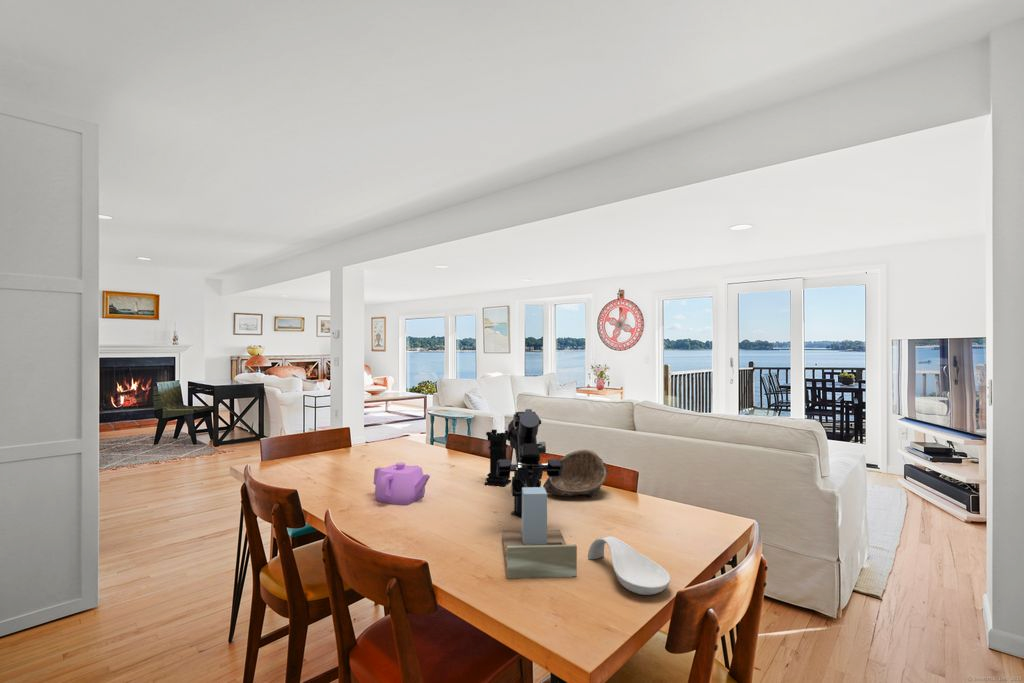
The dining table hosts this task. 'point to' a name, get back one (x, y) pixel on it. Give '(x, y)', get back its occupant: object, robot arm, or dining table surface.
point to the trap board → (539, 556)
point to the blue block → (534, 515)
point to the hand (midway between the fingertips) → (531, 495)
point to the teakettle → (399, 484)
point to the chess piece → (497, 457)
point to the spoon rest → (632, 566)
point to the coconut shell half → (578, 475)
